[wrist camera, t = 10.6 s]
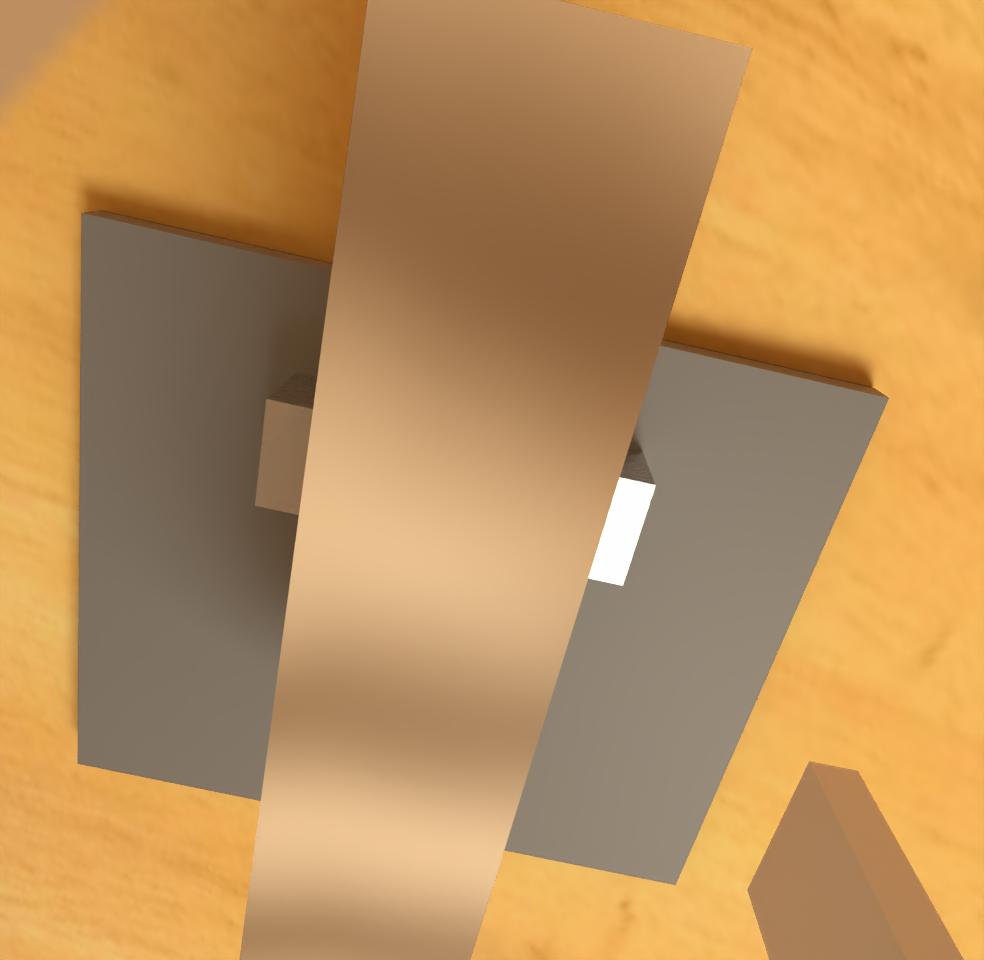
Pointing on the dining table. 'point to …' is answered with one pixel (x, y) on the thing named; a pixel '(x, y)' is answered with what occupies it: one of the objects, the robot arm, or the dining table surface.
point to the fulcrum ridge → (289, 452)
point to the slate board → (272, 534)
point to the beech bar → (466, 444)
